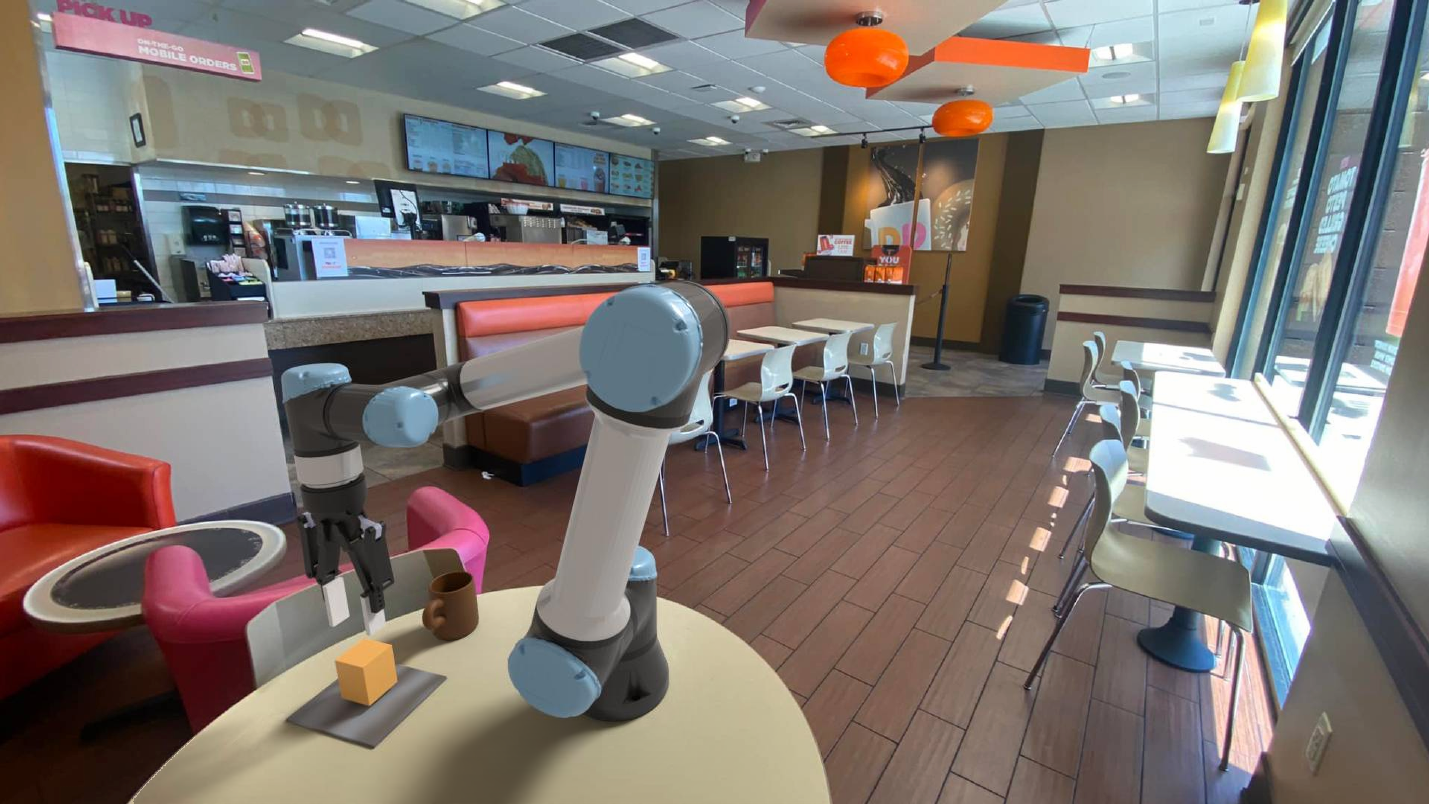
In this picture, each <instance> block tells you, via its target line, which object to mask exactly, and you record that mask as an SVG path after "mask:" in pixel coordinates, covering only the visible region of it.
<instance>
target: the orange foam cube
mask: <svg viewBox="0 0 1429 804" xmlns="http://www.w3.org/2000/svg"><path fill="white" fill-rule="evenodd" d="M395 664H396V663H395V655H394V650H393V644H389V643H385V642H381V641H378V640H373V639H368V638H363V639H362V640H360V641H359V642H358V643H356V644H355V645H354V646H352V647H351V648H349V649H348V650H347V651H345V652H344V653H343V654H341V655H340V656H338V657H337V658H336V659H335V660H334V665H335V668H336V669H335V670H336V674H337V679H338V681H339V686H340V691H341V697H342V698H343V699H347V700H350V701H354V702H357V703H361V704H364V705H368V706H370V705H371V704H372V703H374V702H375V701H376V700H377V699H378V698H379V697H380V696H382V695H383V694H384V693H385V692H386V691H387V690H388V689H390V688H391V687H392V686H393V685H394V684H395V683H396V682H397V675H396V669H395Z"/></svg>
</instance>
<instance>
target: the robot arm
mask: <svg viewBox="0 0 1429 804" xmlns="http://www.w3.org/2000/svg"><path fill="white" fill-rule="evenodd" d="M727 311H728V310H727V307H725V305H724V303H723V302H722V300H721V299H720V297H719V296H717V295H716V294H715V292H713V291H712V290H711V289H709V288H708V287H706V286H704V285H702V284H700V283H697V282H695V281H694V282H693V281H690V280H674V281H667V282H664V283H658V284H653V283H652V284H651V283H650V284H641V285H634V286H631V287H628V288H625V289H623V290H621V291H619V292H616V293H615V294H613V295H611V296H610V297H608V298H606V299H605V300H604V301H602V302H601V303H600V304H599V305H598V306H597V307H596V308H595V309H594V310H593V311H592V313H591V314H590V315H589V316H588V318H587V320H586V321H585V324H584V326H580V327H576V328H574V329H570V330H566V331H564V332H559V333H557V334H554V335H550V336H547V337H543V338H540V339H537V340H533V341H530V342H527V343H526V342H525V343H523V344H519V345H516V346H513V347H509V348H506V349H503V350H500V351H496V352H493V353H490V354H484V355H482V356H479V357H475V358H473V359H469V360H465V361H462V362H458V363H454V364H451V365H447V366H445V367H442V368H439V369H435V370H432V371H428V372H425V373H422V374H417V375H414V376H413V375H412V376H410V377H406V378H403V379H398V380H395V381H391V382H388V383H383V384H359V383H354V382H353V383H352V380H353V379H352V378H351V375H350V373H349V369H348V367H346V366H345V365H344V364H341V363H333V362H328V363H327V362H326V363H322V362H321V363H312V364H311V363H310V364H305V365H299V366H294V367H291V368H289V369H287V370H285V371H284V372H283V373H282V374H281V379H280V380H281V391H282V404H283V407H284V411H285V417H286V420H287V426H288V432H289V436H290V441H291V444H292V445H291V446H292V450H293V458H294V464H295V469H296V470H295V471H296V476H297V481H298V482H299V483H301V485H300V487H299V489H300V496H301V501H302V505H303V510H304V511H305V512H304V513H301V514H298V515H296V516H295V518H294V519H295V520H294V521H295V523H296V525H297V528H298V530H299V532H300V541H301V547H302V548H301V549H302V556H303V564H304V570H305V576H306V578H307V579H309V580H311V579H315V581H316V583H317V584H318V585H319V586H320V590H321V594H322V601H323V602H324V603H325V608H326V613H327V619H328V624H329V627H331V628H334V627H336V626H337V625H339V624H340V623H342V622H344V621H345V620H346V619H348V618H349V617H350V611H349V605H348V599H347V593H346V588H345V581H344V577H342V576H339V575H341V574H342V573H343V571H342V570H340V569H339V567H340V566H339V565H340V555H341V550H342V551H343V552H344V553H346V554H348V557H349V559H350V561H351V564H352V566H353V569H354V570H355V574H356V577H358V580H359V582H360V585H361V587H362V590H363V592H362V593H360V594H359V597H360V598H359V599H360V603H361V604H360V605H361V610H362V615H363V622H364V628H365V629H364V630H365V633H366V635H365V636H368V637H369V636H370V637H372V636H373V635H374V634H376V633H377V632H378V631H379V630H380V629H382V628H383V627H385V626H386V625H387V623H386V617H385V615H386V614H385V608H386V602H385V596H384V591H385V590H387V589H388V588H390V587H391V586H392V585H394V583H395V577H394V573H393V568H392V564H391V563H392V562H391V557H390V554H389V548H388V545H387V539H386V538H387V537H386V531H387V523H386V522H385V521H383V520H379V521H378V522H375V521H372V520H370V519H369V517H368V514H367V512H366V511H365V507H364V506H365V503H366V501H367V500H368V496H369V493H368V487H367V481H366V475H365V474H364V473H363V471H364V469H365V468H364V462H363V457H362V451H361V444H362V443H363V444H368V445H376V446H381V447H385V448H393V449H394V448H395V449H396V448H397V449H398V448H414V447H419V446H422V445H423V444H425V443H427V442H428V440H429V438H430V436H432V435H433V434H434V433H435V431H436V429H437V426H440V425H442V424H445V423H447V422H450V421H452V420H456V419H458V418H460V417H465V416H468V415H472V414H476V413H479V412H483V411H485V410H490V409H495V408H497V407H501V406H505V405H510V404H512V403H513V404H514V403H516V402H521V401H524V400H529V399H532V398H533V399H534V398H537V397H541V396H544V395H548V394H553V393H555V392H560V391H564V390H569V389H572V388H576V387H580V386H584V385H587V386H586V389H585V396H584V399H585V401H586V402H585V403H587V405H588V406H589V408H590V409H591V411H592V412H593V413H594V418H593V423H592V427H591V430H590V435H589V439H588V444H587V446H586V450H585V451H586V452H585V455H584V460H583V463H582V468H581V472H580V475H579V480H578V483H577V489H576V492H575V497H574V500H573V505H572V508H571V509H572V510H571V513H570V516H569V517H570V518H569V520H568V525H567V529H566V533H565V536H564V541H563V545H562V548H561V553H560V558H559V562H558V565H557V570H556V574H555V577H554V578H553V579H550V580H549V581H548V582H547V583H545V584H544V585H543V586H542V587H541V588H540V591H539V593H538V595H537V598H536V599H537V600H536V603H535V608H534V611H533V615H532V619H531V623H530V626H529V629H528V630H527V632H526V634H524V636H523V637H522V638H520V639H519V640H518V641H517V642H516V643H515V645H514V647H513V649H512V650H511V651H510V654H509V655H508V659H507V672H508V677H509V679H510V681H511V683H512V685H513V687H514V689H515V690H516V691H517V692H518V693H519V695H520V696H521V697H522V698H523V699H524V700H525V702H527V703H528V704H529V705H530V706H532V707H533V708H534V709H536V710H537V711H540V712H542V713H544V714H546V715H549V716H552V717H556V718H562V719H563V718H565V719H567V718H570V717H573V718H574V717H578V716H580V715H581V714H585V715H587V716H590V717H591V718H594V719H598V720H601V721H609V722H618V721H627V720H631V719H635V718H638V717H640V716H643V715H645V714H646V713H648V712H650V711H651V710H652V709H654V708H656V707H657V706H658V705H659V704H660V703H661V702H662V701H663V699H664V698H665V696H666V694H667V693H668V690H669V685H670V668H669V667H670V666H669V663H668V661H667V658H666V656H665V653H664V650H663V648H662V646H661V643H660V640H659V638H658V610H657V609H658V601H657V600H658V599H657V596H658V595H657V593H658V591H657V590H658V589H657V577H658V571H657V568H656V567H657V566H656V560H655V557H654V555H653V554H652V552H650V551H649V550H648V549H646V547H643V546H641V545H639V543H640V539H641V536H642V532H643V530H644V526H645V522H646V519H647V516H648V513H649V508H650V507H651V506H650V505H651V503H652V499H653V495H654V493H655V488H656V485H657V481H658V478H659V476H660V475H659V474H660V471H661V468H662V465H663V461H664V458H665V453H666V451H667V448H668V444H669V441H670V437H671V435H672V434H673V433H676V432H677V431H680V430H683V429H684V428H685V427H686V426H688V424H689V422H690V418H691V415H692V411H693V408H694V406H695V403H696V399H697V396H698V393H699V390H700V386H701V383H702V380H703V377H704V376H705V375H706V374H707V373H708V372H710V371H711V370H713V368H715V367H716V366H717V365H718V363H720V361H721V360H722V359H723V357H724V355H725V354H726V352H727V349H728V347H729V343H730V340H731V330H732V329H731V328H732V327H731V323H730V322H731V321H730V317H729V314H728V312H727ZM336 577H337V578H336Z"/></svg>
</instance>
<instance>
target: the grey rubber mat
mask: <svg viewBox="0 0 1429 804" xmlns="http://www.w3.org/2000/svg"><path fill="white" fill-rule="evenodd" d="M395 669H396V675H397V682H396V683H395V684H394V685H393V686H392V687H391V688H390V689H388V690H387V691H386V692H385V693H384V694H383V695H382V696H380V697H379V698H378V699H377V700H376V701H375V702H374V703H372V704H371V705H370V706H368V705H364V704H361V703H357V702H354V701H350V700H347V699H343V698H342V697H341V691H340V686H339V681H338V678H336V680H334V681H333V682H331V683H329V685H328V686H326V687H325V688H324V689H322V690H321V691H320V692H319V693H317V694H315V696H313V697H312V698H311V699H309V700H308V701H307V702H306V703H304V704H303V705H301V706H300V707H299V708H298V709H296V710H295V711H294V712H293V713H291V714H290V715H288V717H286V718H285V721H286V722H287V723H291V724H295V725H298V726H301V727H305V728H308V729H311V730H314V731H317V732H319V733H324V734H327V735H331V736H334V737H338V738H340V739H344V740H347V741H349V742H354V743H357V744H360V745H364V746H366V747H369V748H373V749H375V748H376V747H377V746H379V745H380V743H382V741H384V739H386V738H387V737H388V736H389V735H390V734H392V732H393V731H394V730H396V728H397V727H398V726H399V725H401V724H402V722H404V721H405V720H406V718H408V717H409V716H410V715H411V714H412V713H414V711H415V710H416V709H417V708H418V707H419V706H421V704H422V703H423V702H424V701H425V700H427V698H429V697H430V696H431V694H433V693H434V692H435V691H436V690H437V689H438V688H439V687H440V686H441V685H442V684H443V683H444V682H445V681H446V680H447V679H448V676H446V675H442V674H440V673H439V674H438V673H434V672H430V671H428V670H427V671H426V670H423V669H419V668H415V667H410V666H407V665H403V664H399V663H395Z"/></svg>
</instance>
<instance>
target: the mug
mask: <svg viewBox="0 0 1429 804" xmlns="http://www.w3.org/2000/svg"><path fill="white" fill-rule="evenodd" d="M428 598H429V599H428V600H429V602H428V603H427V604H426V606H425V607H424V608H423V611H422V616H421V621H422V625H423V627H424V628H425V629H426V630H429V631H433V633H434V635H435V637H438V638H439V639H441V640H448V641H449V640H451V641H452V640H458V639H462V638H464V637H467V636H468V635H470V634H471V633H473V632H474V631H475V630H476V629H477V627H478V625H479V622H480V621H479V620H480V616H479V615H480V614H479V604H478V595H477V588H476V581H475V577H474V575H473V574H472V573H471V572H470V571H469V572H468V571H464V570H455V571H449V572H445V573H442V574H440V575H438V576H437V577H435V578H434V579H432V580H431V581H430V583H429V585H428Z"/></svg>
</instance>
